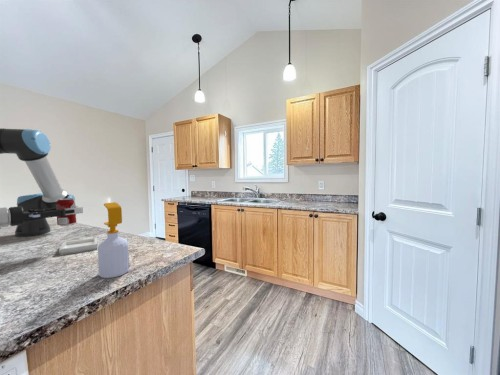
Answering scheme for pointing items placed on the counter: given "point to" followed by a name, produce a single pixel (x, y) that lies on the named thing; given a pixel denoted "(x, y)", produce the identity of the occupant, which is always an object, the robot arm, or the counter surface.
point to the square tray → (78, 246)
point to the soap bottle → (113, 246)
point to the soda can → (69, 219)
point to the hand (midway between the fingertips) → (79, 209)
